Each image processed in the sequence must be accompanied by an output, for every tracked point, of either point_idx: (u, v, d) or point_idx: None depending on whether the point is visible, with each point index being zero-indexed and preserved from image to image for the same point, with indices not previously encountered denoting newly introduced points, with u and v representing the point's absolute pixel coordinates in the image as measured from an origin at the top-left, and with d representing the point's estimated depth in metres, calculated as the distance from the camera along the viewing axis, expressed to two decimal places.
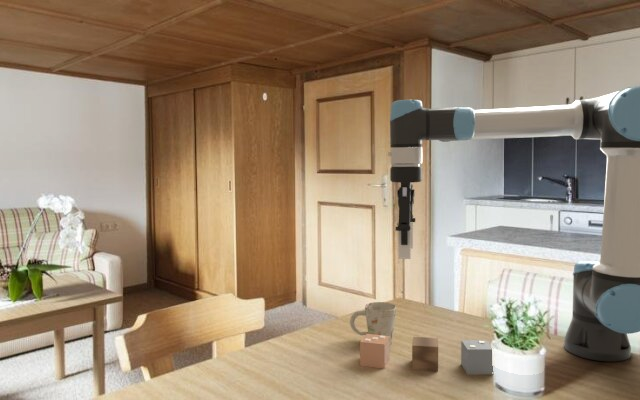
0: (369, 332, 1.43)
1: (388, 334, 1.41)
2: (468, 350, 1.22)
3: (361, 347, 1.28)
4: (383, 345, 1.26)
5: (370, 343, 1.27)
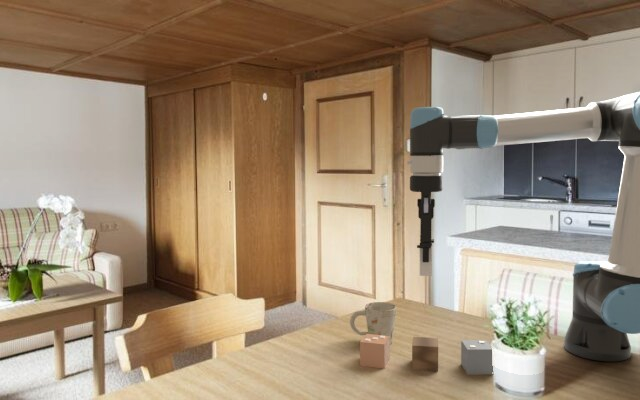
0: (369, 332, 1.43)
1: (388, 334, 1.41)
2: (468, 350, 1.22)
3: (361, 347, 1.28)
4: (383, 345, 1.26)
5: (370, 343, 1.27)
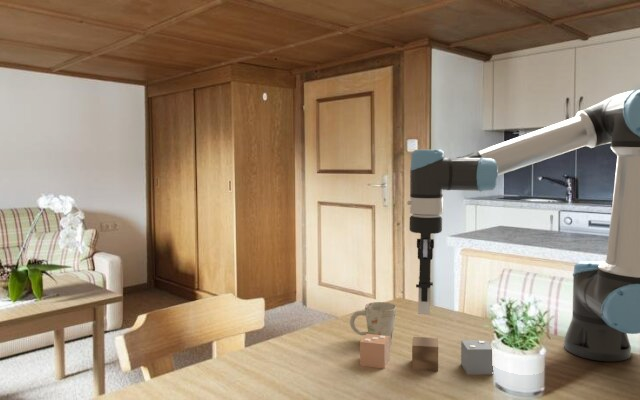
0: (369, 332, 1.43)
1: (388, 334, 1.41)
2: (468, 350, 1.22)
3: (361, 347, 1.28)
4: (383, 345, 1.26)
5: (370, 343, 1.27)
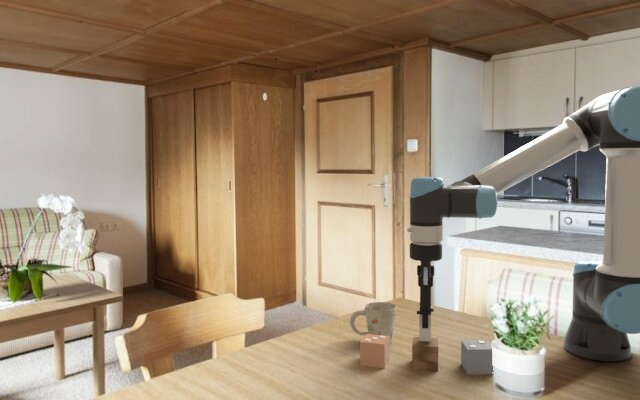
0: (369, 332, 1.43)
1: (388, 334, 1.41)
2: (468, 350, 1.22)
3: (361, 347, 1.28)
4: (383, 345, 1.26)
5: (370, 343, 1.27)
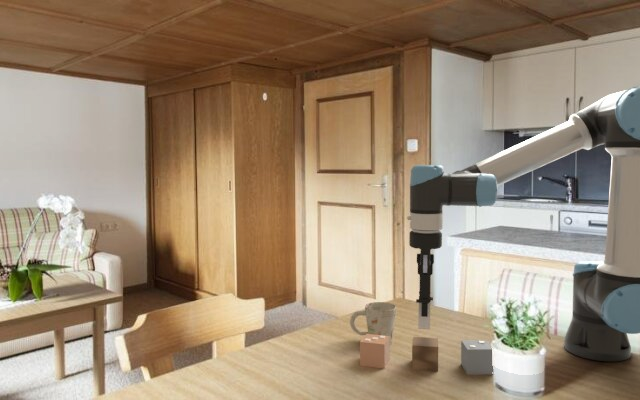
0: (369, 332, 1.43)
1: (388, 334, 1.41)
2: (468, 350, 1.22)
3: (361, 347, 1.28)
4: (383, 345, 1.26)
5: (370, 343, 1.27)
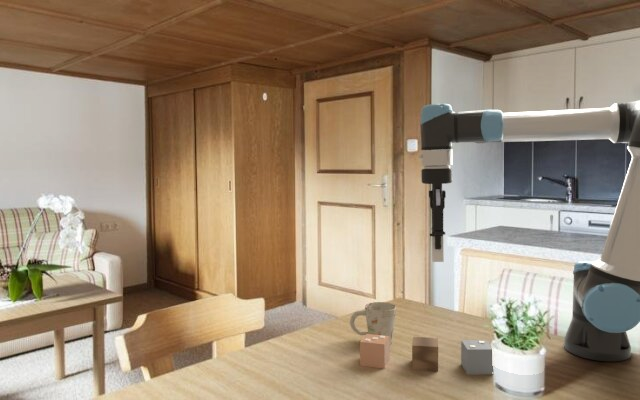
0: (369, 332, 1.43)
1: (388, 334, 1.41)
2: (468, 350, 1.22)
3: (361, 347, 1.28)
4: (383, 345, 1.26)
5: (370, 343, 1.27)
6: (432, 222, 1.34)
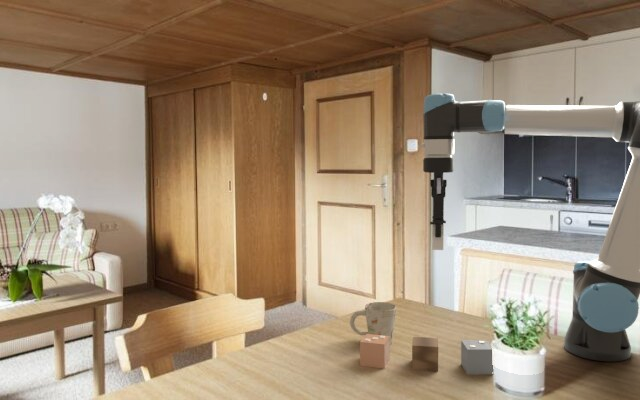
0: (369, 332, 1.43)
1: (388, 334, 1.41)
2: (468, 350, 1.22)
3: (361, 347, 1.28)
4: (383, 345, 1.26)
5: (370, 343, 1.27)
6: None
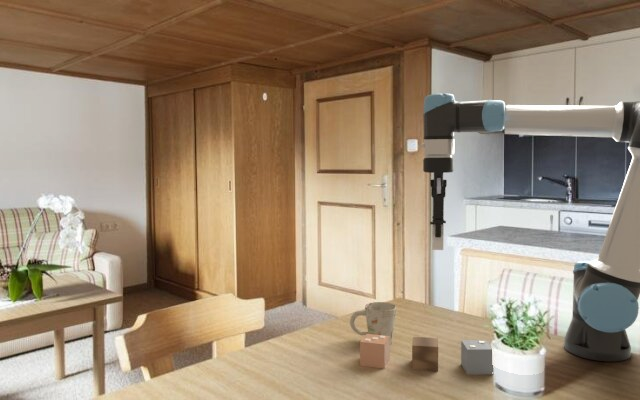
0: (369, 332, 1.43)
1: (388, 334, 1.41)
2: (468, 350, 1.22)
3: (361, 347, 1.28)
4: (383, 345, 1.26)
5: (370, 343, 1.27)
6: None
